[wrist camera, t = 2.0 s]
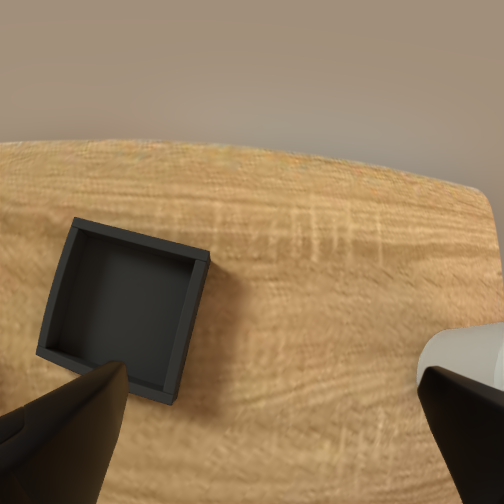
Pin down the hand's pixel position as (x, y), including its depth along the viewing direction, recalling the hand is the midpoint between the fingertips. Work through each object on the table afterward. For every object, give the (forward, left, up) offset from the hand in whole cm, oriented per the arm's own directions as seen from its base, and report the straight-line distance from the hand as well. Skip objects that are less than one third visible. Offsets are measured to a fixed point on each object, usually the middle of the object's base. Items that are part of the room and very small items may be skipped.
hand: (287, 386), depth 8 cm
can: (+2, -18, -16) cm, 24 cm away
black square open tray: (+1, +10, -16) cm, 19 cm away
